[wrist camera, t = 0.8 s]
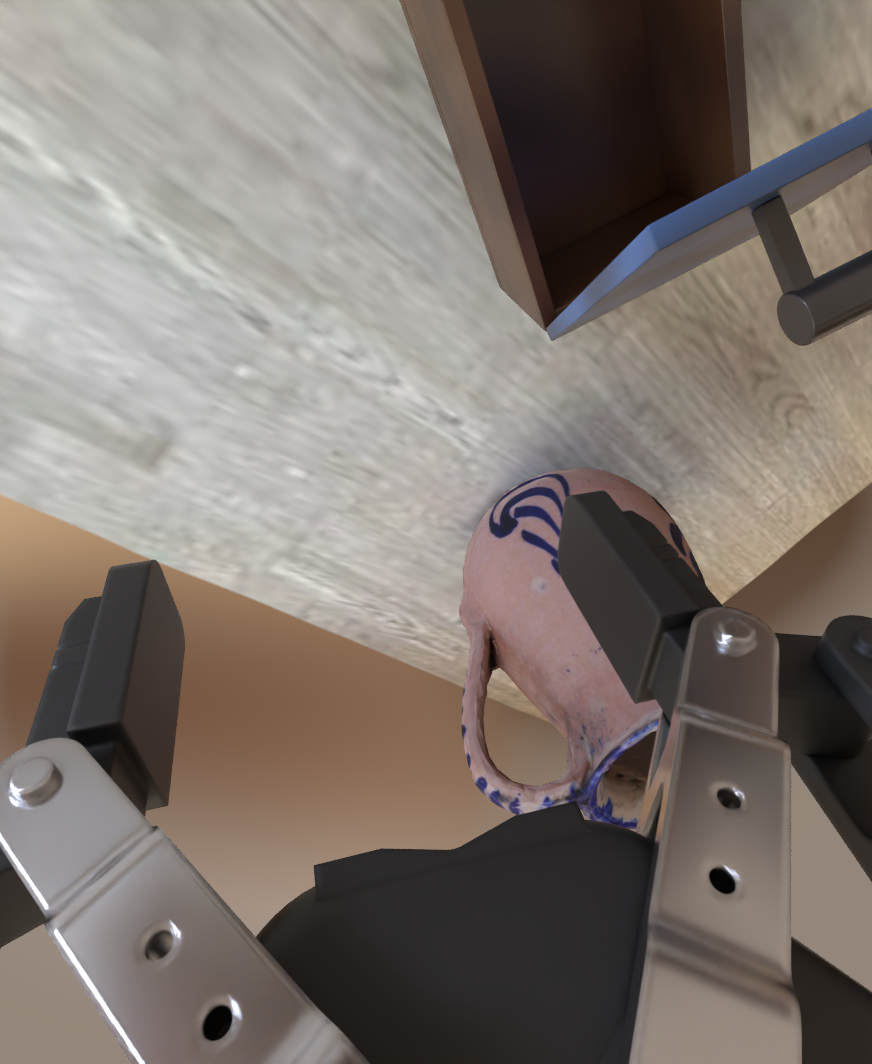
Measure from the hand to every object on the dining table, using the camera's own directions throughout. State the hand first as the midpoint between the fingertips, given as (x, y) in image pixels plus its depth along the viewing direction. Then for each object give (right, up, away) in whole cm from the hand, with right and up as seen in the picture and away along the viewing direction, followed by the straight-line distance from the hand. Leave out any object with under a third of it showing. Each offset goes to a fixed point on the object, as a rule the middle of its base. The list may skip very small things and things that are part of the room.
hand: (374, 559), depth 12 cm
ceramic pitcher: (+9, +1, +43) cm, 44 cm away
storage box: (+8, +25, +24) cm, 36 cm away
